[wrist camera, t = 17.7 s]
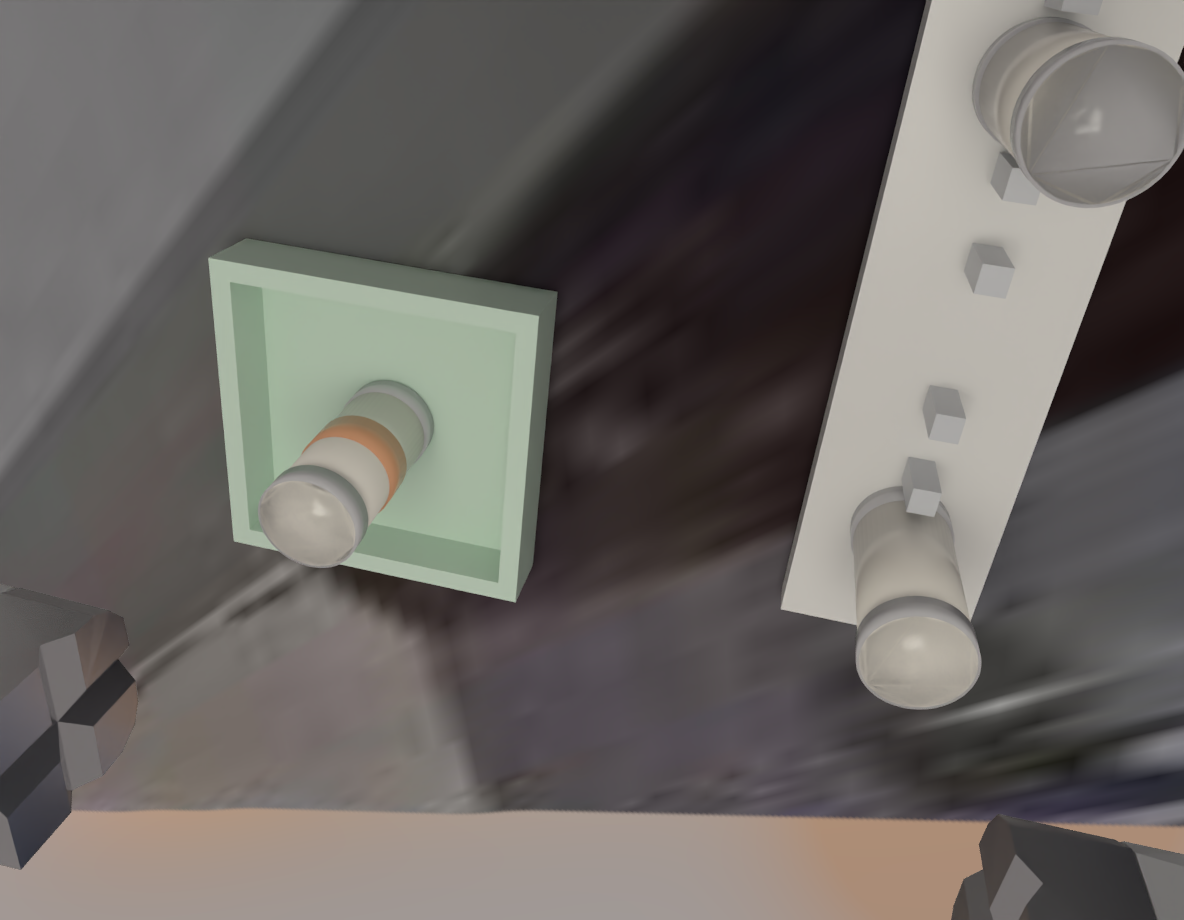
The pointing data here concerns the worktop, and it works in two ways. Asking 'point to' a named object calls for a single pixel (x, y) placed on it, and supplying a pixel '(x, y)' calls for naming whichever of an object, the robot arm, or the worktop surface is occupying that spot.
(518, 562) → the tray
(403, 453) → the fuse marked
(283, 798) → the worktop surface
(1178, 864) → the robot arm
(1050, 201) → the holder
